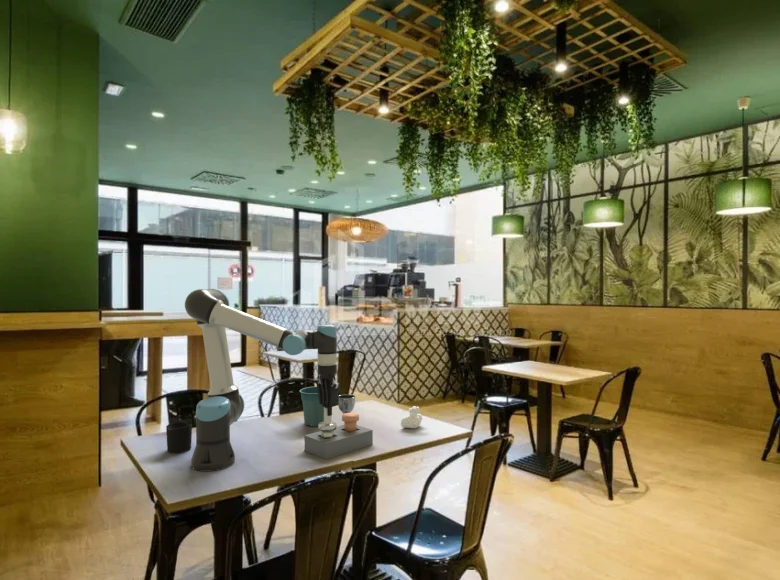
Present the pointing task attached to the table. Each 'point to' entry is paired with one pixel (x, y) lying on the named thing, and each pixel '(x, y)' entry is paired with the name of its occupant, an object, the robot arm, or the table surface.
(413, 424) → the bust
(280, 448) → the table surface
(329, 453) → the press console
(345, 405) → the wine glass
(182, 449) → the pen holder
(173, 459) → the table surface
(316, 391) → the flower pot
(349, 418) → the peach rounded piece
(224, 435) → the robot arm
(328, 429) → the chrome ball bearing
